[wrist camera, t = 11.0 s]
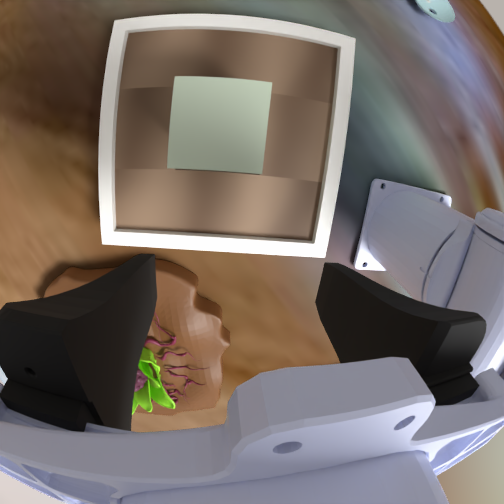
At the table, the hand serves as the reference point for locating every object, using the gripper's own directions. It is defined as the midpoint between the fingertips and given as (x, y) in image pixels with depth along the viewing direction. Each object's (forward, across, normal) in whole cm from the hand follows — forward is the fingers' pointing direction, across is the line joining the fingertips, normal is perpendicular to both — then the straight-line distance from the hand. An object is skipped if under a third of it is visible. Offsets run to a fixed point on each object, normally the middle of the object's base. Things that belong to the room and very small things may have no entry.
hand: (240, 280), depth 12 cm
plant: (+11, +9, +15) cm, 21 cm away
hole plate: (+10, +1, -6) cm, 12 cm away
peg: (+10, +1, -6) cm, 11 cm away
